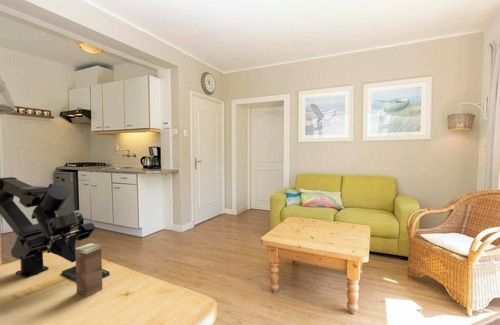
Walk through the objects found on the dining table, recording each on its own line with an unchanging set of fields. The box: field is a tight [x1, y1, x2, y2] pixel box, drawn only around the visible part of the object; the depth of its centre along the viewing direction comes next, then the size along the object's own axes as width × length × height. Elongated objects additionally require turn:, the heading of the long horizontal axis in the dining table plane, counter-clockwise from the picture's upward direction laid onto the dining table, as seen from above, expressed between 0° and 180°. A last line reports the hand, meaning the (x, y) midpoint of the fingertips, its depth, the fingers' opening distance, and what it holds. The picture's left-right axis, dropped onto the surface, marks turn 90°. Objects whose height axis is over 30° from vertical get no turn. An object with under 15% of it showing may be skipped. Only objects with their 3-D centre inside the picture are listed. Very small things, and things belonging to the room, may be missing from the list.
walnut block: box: [75, 242, 103, 298], centre depth 73 cm, size 4×4×13 cm
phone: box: [61, 265, 111, 282], centre depth 83 cm, size 8×1×15 cm
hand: (74, 261), depth 75 cm, fingers closed
